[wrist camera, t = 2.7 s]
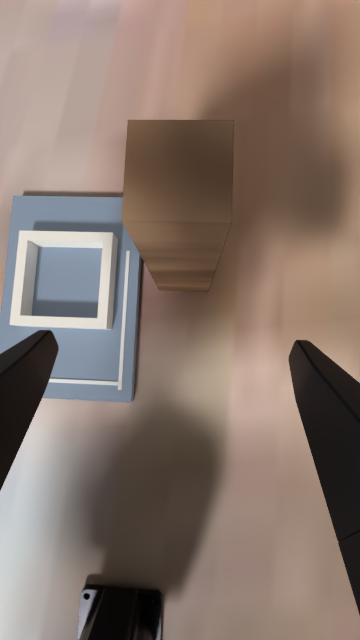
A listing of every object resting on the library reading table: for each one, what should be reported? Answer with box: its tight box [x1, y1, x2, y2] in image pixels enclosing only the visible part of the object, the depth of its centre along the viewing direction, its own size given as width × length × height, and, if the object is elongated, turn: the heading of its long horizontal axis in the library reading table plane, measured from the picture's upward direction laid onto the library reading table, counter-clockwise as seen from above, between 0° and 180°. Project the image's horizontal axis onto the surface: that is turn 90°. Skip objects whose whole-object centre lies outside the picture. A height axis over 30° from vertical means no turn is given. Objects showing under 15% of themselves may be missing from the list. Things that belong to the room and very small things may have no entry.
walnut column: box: [121, 120, 234, 292], centre depth 17 cm, size 4×4×13 cm
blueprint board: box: [0, 196, 142, 402], centre depth 22 cm, size 18×12×2 cm, turn 178°
